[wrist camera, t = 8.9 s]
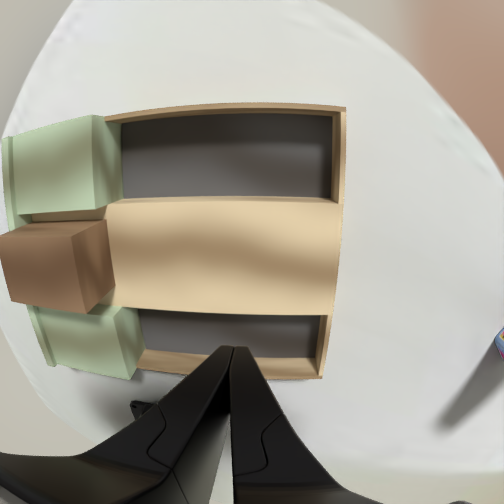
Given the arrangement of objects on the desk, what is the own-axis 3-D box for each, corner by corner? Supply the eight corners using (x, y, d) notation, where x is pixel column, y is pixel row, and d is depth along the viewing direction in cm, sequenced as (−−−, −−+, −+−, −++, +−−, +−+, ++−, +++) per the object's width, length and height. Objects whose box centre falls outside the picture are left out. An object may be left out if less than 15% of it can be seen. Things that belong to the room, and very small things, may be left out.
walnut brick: (115, 285, 19) (86, 314, 15) (43, 278, 19) (11, 301, 15) (106, 219, 17) (70, 236, 13) (32, 221, 17) (-4, 237, 14)
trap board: (317, 358, 22) (325, 397, 18) (72, 337, 23) (48, 365, 19) (336, 112, 17) (355, 101, 13) (40, 137, 18) (1, 139, 14)
